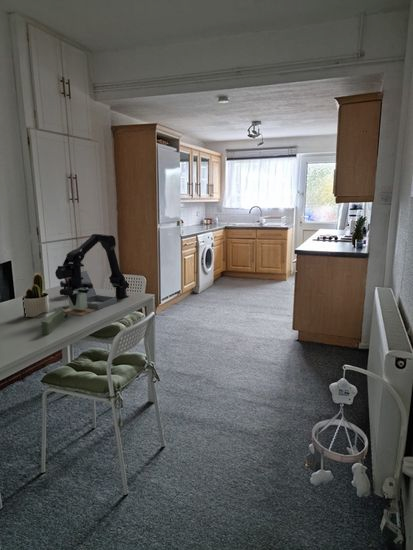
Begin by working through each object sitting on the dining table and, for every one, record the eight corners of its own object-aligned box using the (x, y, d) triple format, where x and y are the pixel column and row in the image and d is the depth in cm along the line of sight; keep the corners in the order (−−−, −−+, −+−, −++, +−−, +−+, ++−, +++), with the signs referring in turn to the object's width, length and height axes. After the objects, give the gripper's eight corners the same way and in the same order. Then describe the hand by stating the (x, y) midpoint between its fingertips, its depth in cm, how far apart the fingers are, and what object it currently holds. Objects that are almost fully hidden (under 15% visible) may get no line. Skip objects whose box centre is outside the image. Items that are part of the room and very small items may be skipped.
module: (76, 305, 204) (75, 291, 202) (87, 307, 200) (86, 293, 199) (69, 308, 199) (68, 293, 198) (80, 309, 196) (79, 295, 194)
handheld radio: (40, 335, 166) (63, 317, 191) (48, 335, 166) (70, 317, 190) (40, 321, 165) (63, 305, 189) (47, 321, 165) (69, 305, 189)
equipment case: (87, 298, 226) (85, 270, 223) (116, 302, 216) (115, 273, 213) (68, 304, 212) (65, 275, 209) (98, 309, 203) (96, 278, 199)
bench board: (75, 306, 208) (75, 305, 208) (96, 310, 202) (96, 309, 202) (60, 312, 199) (60, 311, 198) (81, 316, 192) (81, 314, 192)
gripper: (77, 271, 208) (79, 298, 211) (50, 278, 191) (53, 306, 195) (92, 273, 203) (94, 300, 206) (66, 279, 187) (69, 309, 190)
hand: (78, 304), depth 199 cm, fingers closed on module, 5 cm apart
